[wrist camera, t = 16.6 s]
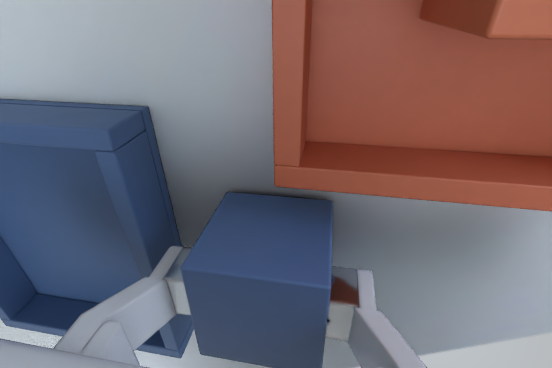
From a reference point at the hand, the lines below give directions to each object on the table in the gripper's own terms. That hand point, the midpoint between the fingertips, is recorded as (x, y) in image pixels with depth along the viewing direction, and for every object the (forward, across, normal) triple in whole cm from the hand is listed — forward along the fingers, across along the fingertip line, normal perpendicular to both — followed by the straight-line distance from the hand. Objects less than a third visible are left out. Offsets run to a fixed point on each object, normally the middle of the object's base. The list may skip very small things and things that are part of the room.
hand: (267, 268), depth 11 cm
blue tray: (+3, +11, +2) cm, 11 cm away
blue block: (+2, 0, 0) cm, 2 cm away
